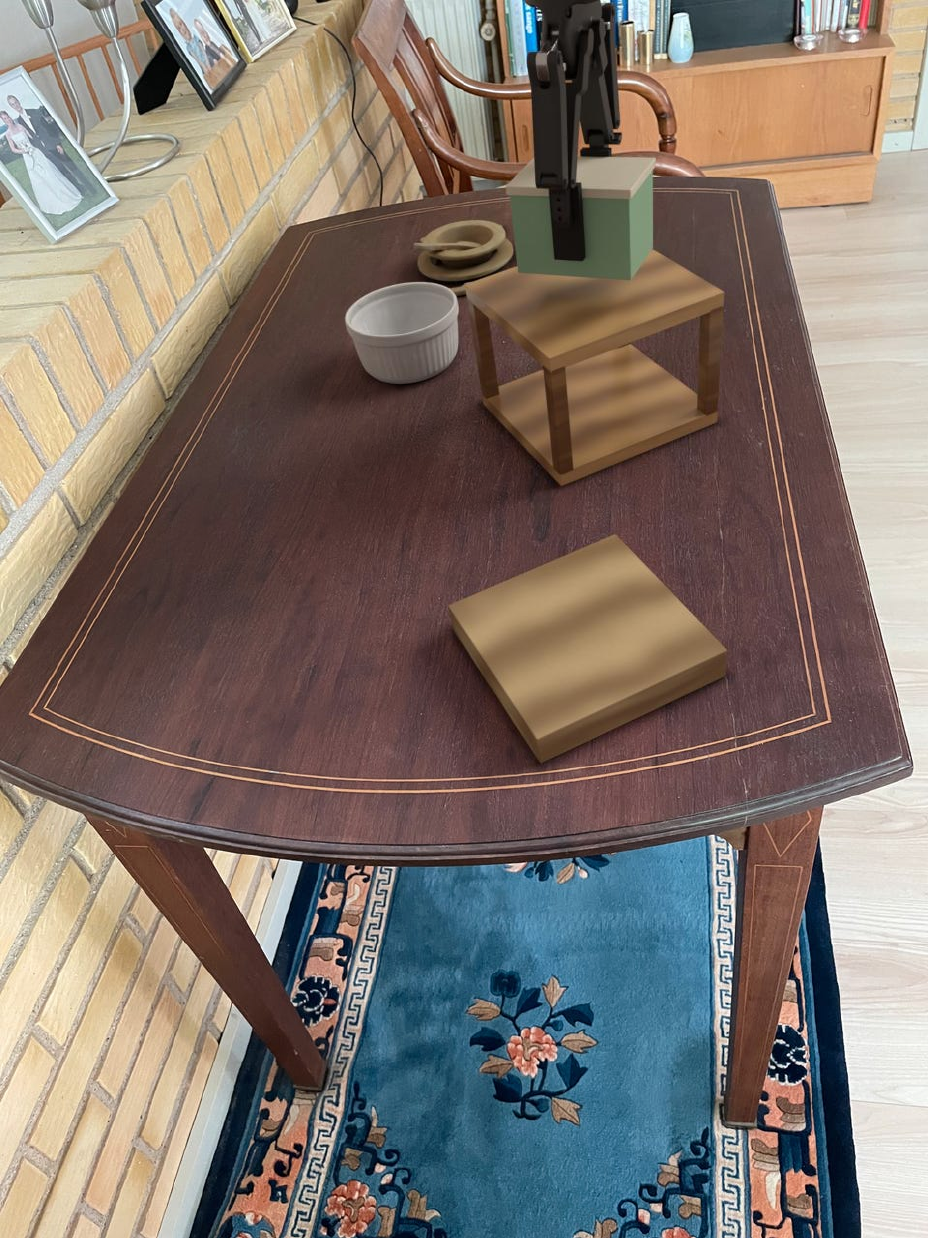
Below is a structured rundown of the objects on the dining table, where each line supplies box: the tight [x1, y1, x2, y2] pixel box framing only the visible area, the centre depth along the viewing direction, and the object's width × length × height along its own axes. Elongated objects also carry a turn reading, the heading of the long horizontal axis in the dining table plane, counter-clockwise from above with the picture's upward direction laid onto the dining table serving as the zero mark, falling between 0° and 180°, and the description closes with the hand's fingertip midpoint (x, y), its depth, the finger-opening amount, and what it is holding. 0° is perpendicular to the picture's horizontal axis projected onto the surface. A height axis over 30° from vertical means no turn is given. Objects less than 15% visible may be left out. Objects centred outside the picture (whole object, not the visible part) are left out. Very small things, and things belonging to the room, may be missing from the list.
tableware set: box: [412, 219, 514, 297], centre depth 125 cm, size 30×20×6 cm, turn 94°
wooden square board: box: [447, 533, 728, 764], centre depth 73 cm, size 16×16×3 cm
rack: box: [464, 248, 725, 487], centre depth 92 cm, size 18×18×14 cm
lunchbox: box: [505, 156, 657, 280], centre depth 83 cm, size 11×7×8 cm, turn 64°
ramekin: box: [344, 281, 460, 385], centre depth 108 cm, size 13×13×7 cm
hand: (584, 239), depth 84 cm, fingers closed on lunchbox, 7 cm apart
